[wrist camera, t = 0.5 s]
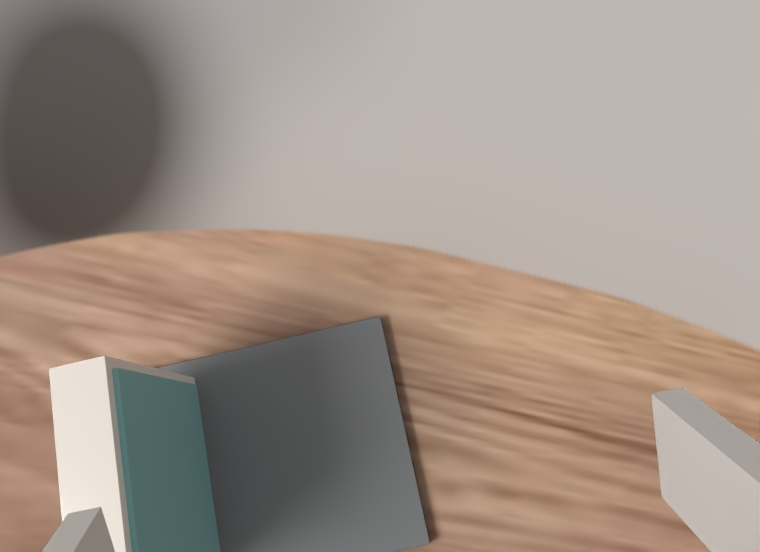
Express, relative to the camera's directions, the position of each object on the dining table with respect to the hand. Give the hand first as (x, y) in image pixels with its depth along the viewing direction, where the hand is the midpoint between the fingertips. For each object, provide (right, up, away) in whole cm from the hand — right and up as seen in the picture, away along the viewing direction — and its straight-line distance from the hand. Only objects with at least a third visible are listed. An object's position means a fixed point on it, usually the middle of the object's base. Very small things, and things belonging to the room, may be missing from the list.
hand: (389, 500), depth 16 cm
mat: (-6, -4, +20) cm, 22 cm away
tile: (-11, -5, +20) cm, 23 cm away
